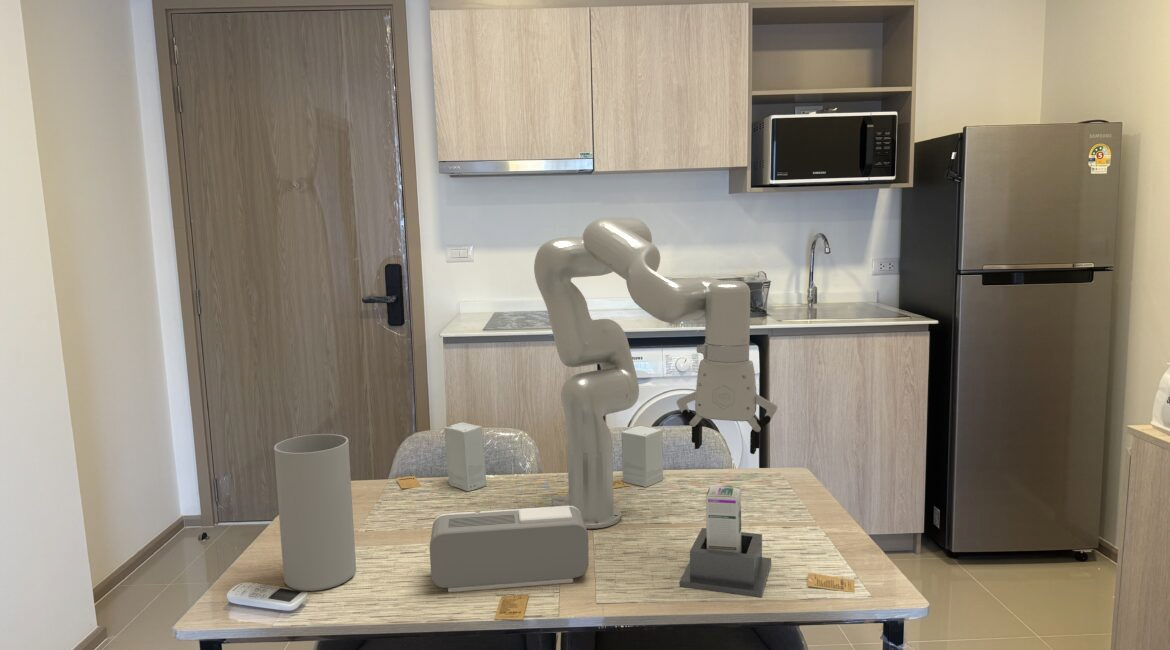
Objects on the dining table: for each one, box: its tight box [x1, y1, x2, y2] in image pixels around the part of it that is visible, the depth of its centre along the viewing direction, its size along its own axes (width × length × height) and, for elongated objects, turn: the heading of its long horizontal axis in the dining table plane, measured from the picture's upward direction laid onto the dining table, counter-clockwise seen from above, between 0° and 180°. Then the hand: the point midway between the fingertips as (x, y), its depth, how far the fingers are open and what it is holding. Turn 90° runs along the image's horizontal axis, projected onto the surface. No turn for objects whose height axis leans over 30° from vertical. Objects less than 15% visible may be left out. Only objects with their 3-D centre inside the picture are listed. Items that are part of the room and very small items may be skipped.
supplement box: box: [620, 425, 664, 488], centre depth 196 cm, size 7×7×13 cm
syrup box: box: [705, 485, 742, 553], centre depth 144 cm, size 6×6×14 cm
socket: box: [679, 527, 772, 598], centre depth 144 cm, size 14×14×6 cm
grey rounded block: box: [429, 506, 590, 593], centre depth 145 cm, size 27×9×12 cm, turn 98°
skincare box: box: [444, 421, 487, 492], centre depth 195 cm, size 8×6×15 cm
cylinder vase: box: [273, 433, 357, 592], centre depth 145 cm, size 12×12×25 cm
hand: (725, 449), depth 142 cm, fingers open, 9 cm apart
